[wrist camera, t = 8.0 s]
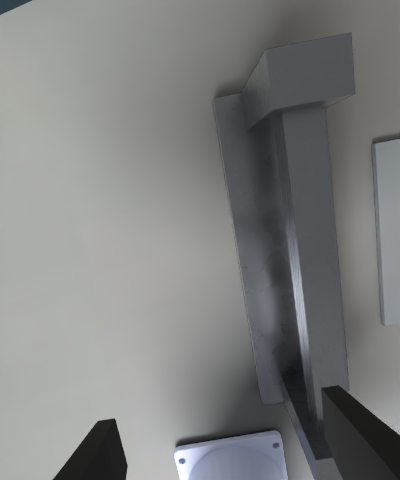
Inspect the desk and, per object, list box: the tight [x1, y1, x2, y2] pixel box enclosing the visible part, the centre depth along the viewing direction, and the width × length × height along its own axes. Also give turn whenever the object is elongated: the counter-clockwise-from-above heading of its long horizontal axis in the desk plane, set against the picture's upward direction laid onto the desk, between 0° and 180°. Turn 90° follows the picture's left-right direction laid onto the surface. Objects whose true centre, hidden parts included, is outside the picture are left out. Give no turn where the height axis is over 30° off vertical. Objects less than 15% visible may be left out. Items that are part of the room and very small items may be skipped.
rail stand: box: [213, 33, 355, 480], centre depth 16 cm, size 20×6×7 cm, turn 10°
